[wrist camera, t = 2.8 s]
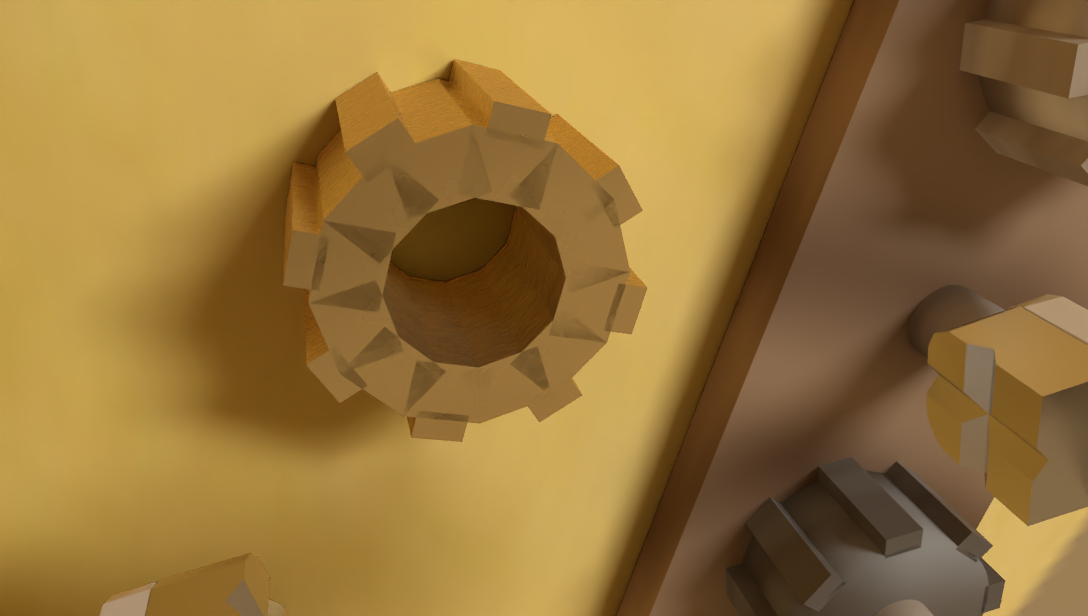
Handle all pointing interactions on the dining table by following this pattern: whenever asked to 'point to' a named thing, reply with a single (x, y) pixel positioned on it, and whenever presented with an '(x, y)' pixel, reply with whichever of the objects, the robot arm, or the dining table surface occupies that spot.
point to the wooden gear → (474, 299)
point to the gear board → (879, 320)
